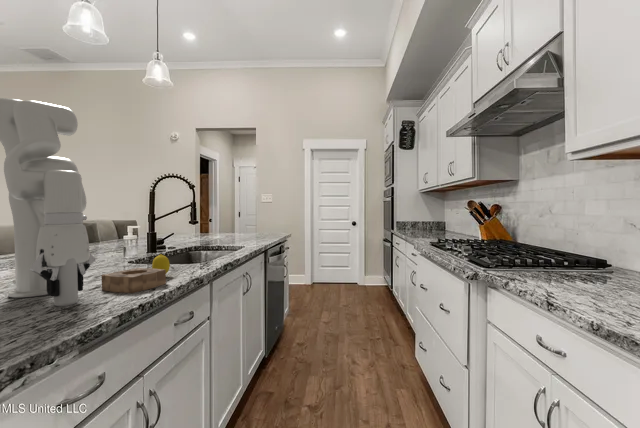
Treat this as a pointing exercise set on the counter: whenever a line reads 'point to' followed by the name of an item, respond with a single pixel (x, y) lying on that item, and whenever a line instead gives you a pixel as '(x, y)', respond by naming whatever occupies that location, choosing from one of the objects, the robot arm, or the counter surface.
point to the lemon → (161, 263)
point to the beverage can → (67, 284)
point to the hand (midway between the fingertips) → (65, 292)
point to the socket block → (133, 280)
